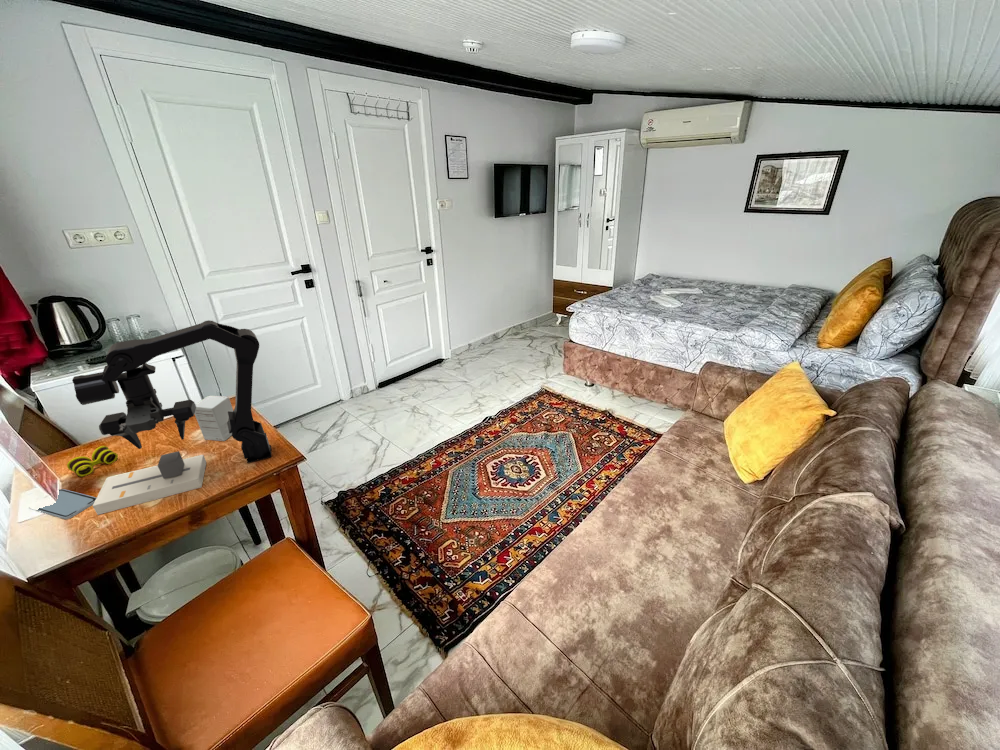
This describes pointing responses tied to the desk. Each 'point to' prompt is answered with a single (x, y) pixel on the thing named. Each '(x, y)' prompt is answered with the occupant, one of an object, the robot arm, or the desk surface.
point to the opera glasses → (99, 454)
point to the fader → (171, 464)
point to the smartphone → (68, 504)
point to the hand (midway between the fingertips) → (162, 443)
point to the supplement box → (214, 417)
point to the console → (148, 485)
